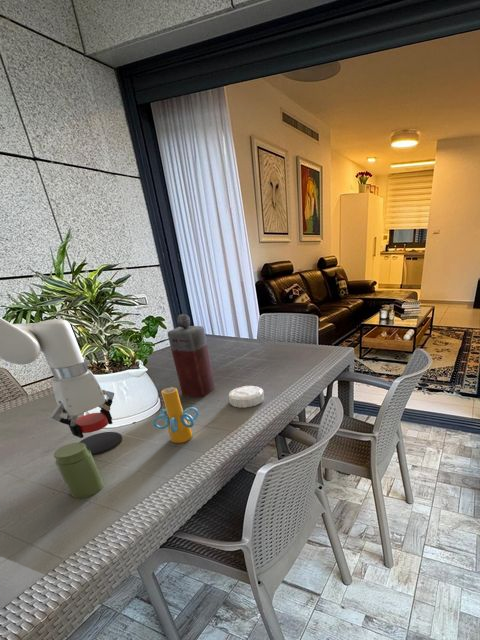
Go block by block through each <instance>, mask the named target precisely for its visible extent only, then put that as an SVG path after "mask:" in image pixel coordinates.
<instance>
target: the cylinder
mask: <svg viewBox="0 0 480 640" xmlns="http://www.w3.org/2000/svg"><path fill="white" fill-rule="evenodd" d="M160 392H161V395H162V400H163V402H164V407H165V408H162V409H160V411H159V414H158V415H157V416H155V417H154V418H153V421H152V423H153V426H154V427H155V428H156V429H158V430H164V429H167V431H168V434H169V438H170V441H171V442H172V443H174V444H182V443H185V442H188V441H190V440H191V439H192V438H193V432H192V428H194V425H195V420H197V419H198V418H199V414H200V413H199V410H198V409H197V408H196V407H193V406H190V407H187V408H185V409H183V406H182V402H181V398H180V395H179V391H178V388H177V387H167V388H163V389H162V390H161V391H160ZM189 411H193V412H195V415H194V417H192V416H191V415H190V414H188V412H189ZM164 413H166V414H167V415H165V414H164ZM159 419H162V421H164V422H165V425H161V426H160V425H158V424H157V421H158V420H159Z"/></svg>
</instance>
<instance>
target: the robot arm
mask: <svg viewBox="0 0 480 640" xmlns="http://www.w3.org/2000/svg"><path fill="white" fill-rule="evenodd" d="M41 352H42V354H43V355H44V356H43V357H44V358H45V360H46V362H47V365H48V367H49V370H50V372H51V374H52V376H53V378H51V380H50V382H51V388H52V391H53V396H54V398H55V401H56V404H57V405H56V407H55V408H54V409H53V410H52V412H51V413H50V415H49V418H51V419H52V420H54V421H56V422H58V423H61V424H65V425H66V426H68V427H69V429H70V432H71V434H72V435H73V436H74V437H77V438H80V439H82V438H83V439H84V433H82V431H81V429H80V427H79V425H78V424H76V420H77V419H78V416H80V415H82V414H84V413H87V412H90V411H92V410H94V409H96V408H100V409H99V413H104V414H105V415H106V416H107V419H108V425H113V423H114V422H113V421H112V420H113V417H112V415H111V412H110V411H111V406H112V404H113V399H114V398H115V397H114V396H115V392H113V391H109V390H105V389H102V387H101V386H100V383H99V381H98V380H97V378H96V376H95V375H94V374H93V372H92V370H90V369H89V367H88V366H90V365H91V364H92V363H91V360H90V359H84V357H83V355H82V351H81V348H80V346H79V344H78V341H77V338H76V336H75V333H74V331H73V329H72V326H71V324H70V322H69V321H67V320H65V319H61V318H57V319H56V318H54V319H53V318H52V319H47V320H42V321H38V322H31V323H29V322H28V323H11V322H9V321H7V320H6V319H4V318H2V317H0V359H1V360H3V361H4V362H7V363H10V364H14V365H20V366H22V365H29V364H32V363H33V362H35V361H36V360H37V359H39V357H40V354H41ZM61 414H66V415H65V418H64V417H62V416H61Z"/></svg>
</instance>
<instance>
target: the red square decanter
mask: <svg viewBox="0 0 480 640" xmlns="http://www.w3.org/2000/svg"><path fill="white" fill-rule="evenodd" d="M176 322H177V324H178V325H177V327H175V328H174V329H171V330H169V331H167V339H168V343H169V346H170V351H171V354H172V358H173V362H174V365H175V366H174V367H175V372H176V375H177V379H178V383H179V387H180V390H181V395H182V396H184V397H185V396H186V397H200V398H205V397H206V396H207V395H208V394H210V393H211V392H212V391H214V390H215V389H216V388H217V387H216V382H215V378H214V372H213V366H212V361H211V357H210V352H209V347H208V346H209V345H208V341H207V336H206V331H205V328H204V326H202V325H191V319H190V316H189V315H188V314H179V315H178V316H177V321H176Z"/></svg>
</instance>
